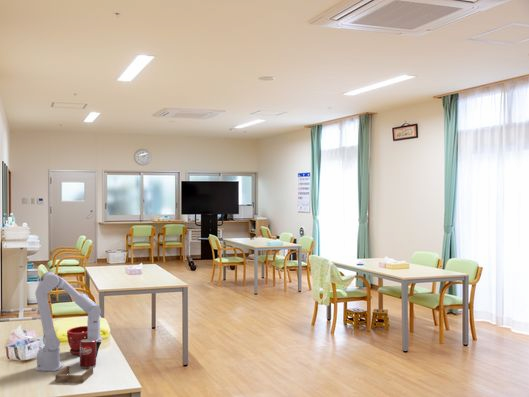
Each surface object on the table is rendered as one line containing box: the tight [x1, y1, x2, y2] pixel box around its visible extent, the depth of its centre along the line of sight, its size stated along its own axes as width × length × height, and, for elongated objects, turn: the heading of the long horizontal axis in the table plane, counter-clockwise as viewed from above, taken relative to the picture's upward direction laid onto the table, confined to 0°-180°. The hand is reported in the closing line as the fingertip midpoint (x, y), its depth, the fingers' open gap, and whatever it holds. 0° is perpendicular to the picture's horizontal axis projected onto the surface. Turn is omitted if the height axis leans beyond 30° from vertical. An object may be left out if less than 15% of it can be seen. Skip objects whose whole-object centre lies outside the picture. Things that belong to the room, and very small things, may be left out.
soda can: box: [79, 339, 97, 369], centre depth 256 cm, size 7×7×12 cm
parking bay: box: [55, 366, 94, 384], centre depth 242 cm, size 12×12×3 cm
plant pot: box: [66, 325, 88, 356], centre depth 278 cm, size 13×13×12 cm
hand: (94, 357), depth 264 cm, fingers closed
